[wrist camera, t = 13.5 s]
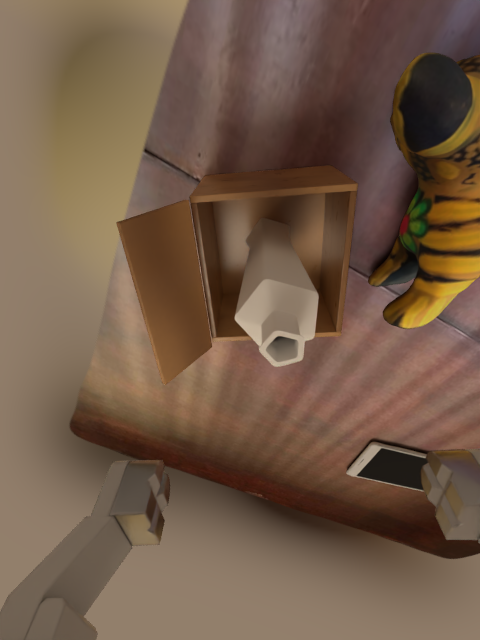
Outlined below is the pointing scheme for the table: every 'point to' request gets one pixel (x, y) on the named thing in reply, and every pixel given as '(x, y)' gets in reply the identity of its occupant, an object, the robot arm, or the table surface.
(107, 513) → the robot arm
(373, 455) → the smartphone
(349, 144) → the table surface
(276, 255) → the perfume bottle
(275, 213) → the carton
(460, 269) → the multicolored animal figure
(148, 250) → the carton flap
